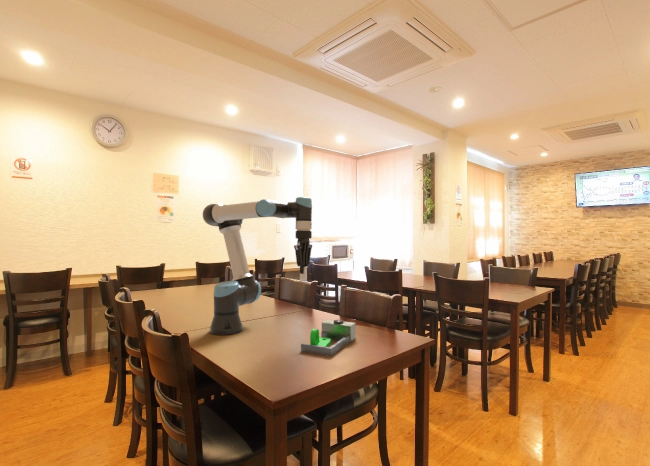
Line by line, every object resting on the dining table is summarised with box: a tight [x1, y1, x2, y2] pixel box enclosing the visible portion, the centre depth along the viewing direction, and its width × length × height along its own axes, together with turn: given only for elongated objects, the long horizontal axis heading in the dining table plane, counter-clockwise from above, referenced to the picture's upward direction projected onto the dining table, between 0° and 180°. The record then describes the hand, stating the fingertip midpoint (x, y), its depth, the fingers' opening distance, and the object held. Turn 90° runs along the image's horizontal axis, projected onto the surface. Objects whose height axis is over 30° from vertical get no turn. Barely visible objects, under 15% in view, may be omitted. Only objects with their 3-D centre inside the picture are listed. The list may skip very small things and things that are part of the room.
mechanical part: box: [309, 328, 332, 347], centre depth 143 cm, size 12×6×8 cm, turn 163°
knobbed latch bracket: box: [300, 319, 357, 357], centre depth 144 cm, size 14×25×8 cm, turn 154°
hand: (303, 280), depth 160 cm, fingers closed
